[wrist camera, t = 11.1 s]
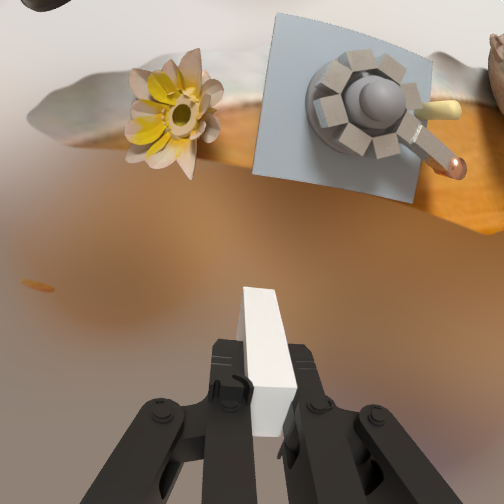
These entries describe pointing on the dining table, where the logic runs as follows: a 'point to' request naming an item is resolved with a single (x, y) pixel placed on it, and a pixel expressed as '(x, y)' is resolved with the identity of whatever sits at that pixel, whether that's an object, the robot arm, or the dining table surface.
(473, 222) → the dining table surface
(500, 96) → the cooking pot
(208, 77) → the decorative flower
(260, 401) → the robot arm
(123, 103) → the dining table surface
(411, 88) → the grey gear lever
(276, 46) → the base
